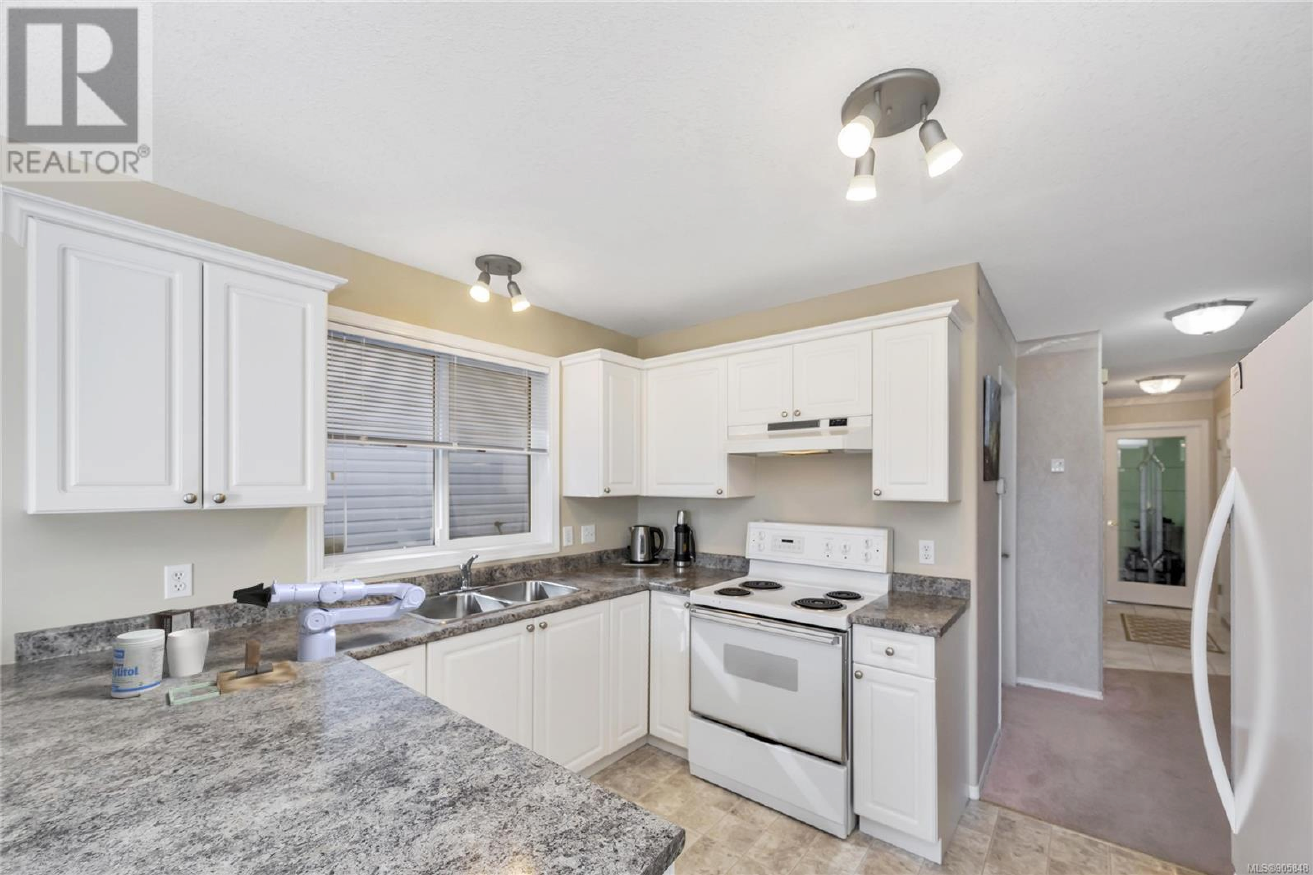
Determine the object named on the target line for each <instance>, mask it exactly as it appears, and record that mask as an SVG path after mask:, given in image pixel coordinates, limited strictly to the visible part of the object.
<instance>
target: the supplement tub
mask: <svg viewBox="0 0 1313 875" xmlns="http://www.w3.org/2000/svg"><path fill="white" fill-rule="evenodd" d="M164 644H165V631H164V630H162V629H149V628H147V629H140V630H134V631H129V632H125V633H122V634H119V635H117V636H116V639H115V642H114V648H113V649H114V650H113V659H112V660H113V662H112V663H113V664H112V674H111V683H110V684H111V685H110V695H111V696H112V697H113V698H115V699H116V698H117V699H128V698H133V697H139V696H141V693H143V692H144V693H145V692H148V691H151V690H154V689H156V688H158V687H160V686H162V678H163V672H162V669H163V656H164Z"/></svg>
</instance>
